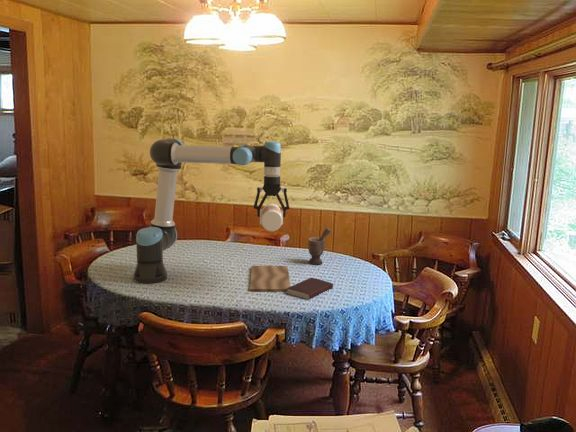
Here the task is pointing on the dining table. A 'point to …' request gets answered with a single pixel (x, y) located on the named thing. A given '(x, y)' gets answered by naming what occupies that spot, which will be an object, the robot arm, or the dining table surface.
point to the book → (309, 288)
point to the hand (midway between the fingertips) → (271, 223)
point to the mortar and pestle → (317, 247)
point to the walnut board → (269, 279)
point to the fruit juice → (271, 217)
